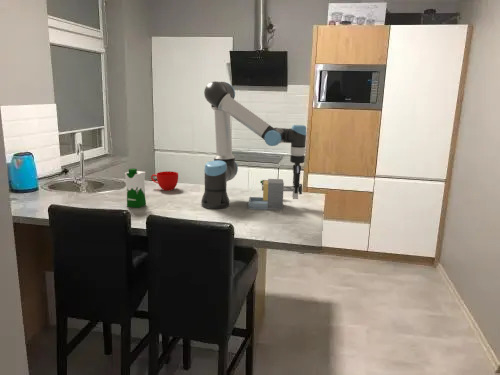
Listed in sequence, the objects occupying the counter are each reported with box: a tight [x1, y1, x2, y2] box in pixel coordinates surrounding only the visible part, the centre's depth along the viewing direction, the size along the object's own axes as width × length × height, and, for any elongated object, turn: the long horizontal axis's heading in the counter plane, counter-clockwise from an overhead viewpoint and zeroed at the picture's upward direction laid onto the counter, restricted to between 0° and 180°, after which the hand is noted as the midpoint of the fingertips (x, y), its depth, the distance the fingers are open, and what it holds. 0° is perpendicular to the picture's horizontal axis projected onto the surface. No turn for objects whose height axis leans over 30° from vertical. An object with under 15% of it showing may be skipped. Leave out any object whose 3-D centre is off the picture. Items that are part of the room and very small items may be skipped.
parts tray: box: [248, 196, 268, 210], centre depth 217 cm, size 10×13×3 cm
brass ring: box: [262, 179, 268, 201], centre depth 215 cm, size 2×9×9 cm, turn 178°
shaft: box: [261, 183, 303, 195], centre depth 214 cm, size 21×6×6 cm, turn 88°
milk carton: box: [124, 167, 147, 209], centre depth 208 cm, size 9×9×20 cm
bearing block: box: [266, 178, 285, 211], centre depth 215 cm, size 8×14×14 cm, turn 178°
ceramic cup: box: [150, 171, 179, 191], centre depth 245 cm, size 13×17×10 cm
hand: (295, 197), depth 215 cm, fingers closed on shaft, 3 cm apart
